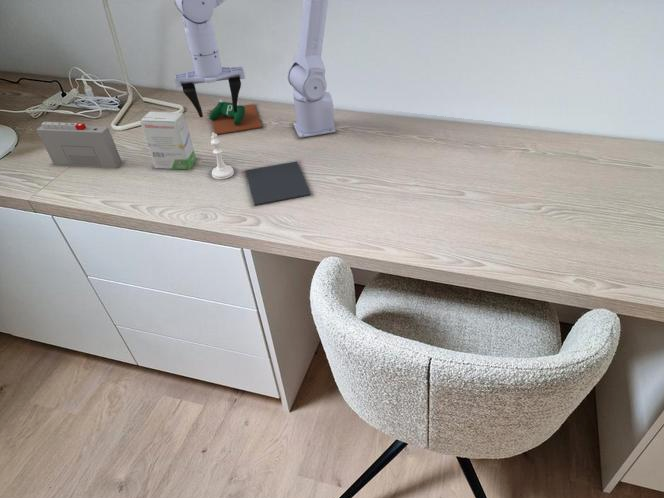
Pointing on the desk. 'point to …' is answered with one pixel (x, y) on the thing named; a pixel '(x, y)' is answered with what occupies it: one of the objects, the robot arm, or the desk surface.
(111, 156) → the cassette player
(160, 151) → the ink box
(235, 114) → the gaming controller
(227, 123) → the cork mat
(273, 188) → the slate mat
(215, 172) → the chess piece
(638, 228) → the desk surface
